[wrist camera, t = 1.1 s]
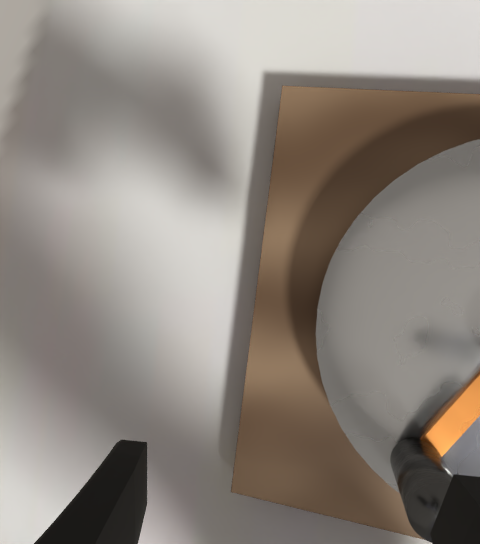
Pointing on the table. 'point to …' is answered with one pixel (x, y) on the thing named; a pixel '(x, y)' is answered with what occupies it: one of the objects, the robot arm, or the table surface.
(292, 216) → the stand
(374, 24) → the table surface
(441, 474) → the dial
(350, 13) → the table surface
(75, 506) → the robot arm
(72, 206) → the table surface
